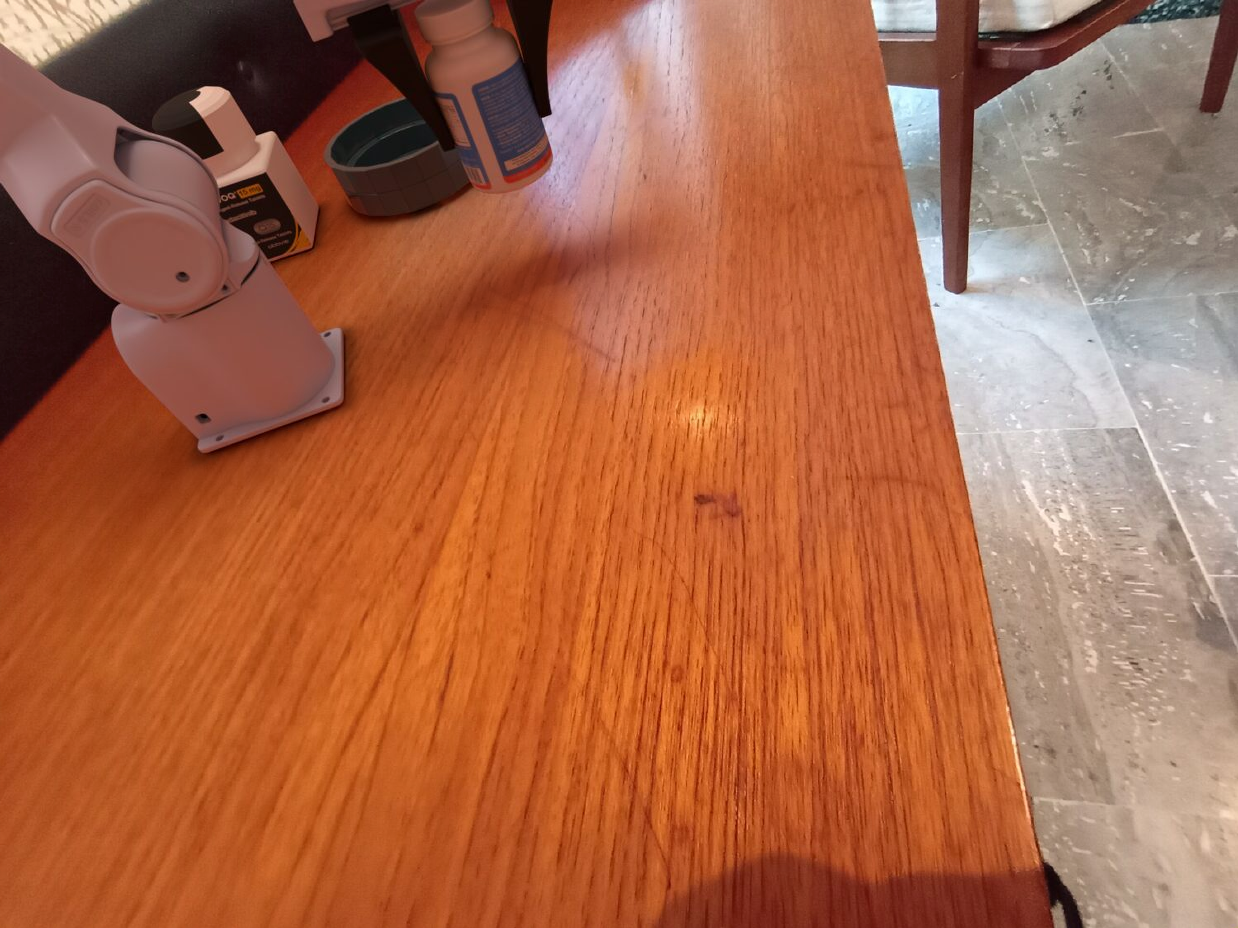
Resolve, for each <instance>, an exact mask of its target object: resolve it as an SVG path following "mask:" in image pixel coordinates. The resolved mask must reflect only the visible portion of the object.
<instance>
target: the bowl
mask: <svg viewBox="0 0 1238 928" xmlns="http://www.w3.org/2000/svg"><path fill="white" fill-rule="evenodd" d="M323 155H324V157H323V161H324V163H325V164H326V166H327V168H328V170H329V171H330V173H331V175H332V176H333V179H334V180H335V183H336V184H337V186H338V188H339V190H340V191H341V193H342V195H343V197H344V198H345V200H346V202H347V204H348V205H349V206H350V207H351V208H352V210H353V211H355V212H356V213H359V214H362V215H366V216H369V217H377V216H378V217H392V216H396V215H403V214H408V213H413V212H416V211H420V210H423V209H426V208H428V207H431V206H433V205H436V204H438V203H440V202H442V201H444V200H446V199H448V198H449V197H451V196H453V195H454V194H455V193H457V192H459V191H460V190H461V189H463V188H464V187H465V186H466V185H467V184H469V183H471V182H470V180H469V178H468V175H467V173H466V171H465V168H464V166H463V164H462V161H461V159H460V156H459V154H458V152H457V149H456V147H455V149H453V150H450V151H447V152H444V151H443V149H442V147H441V145H440V144H439V142H438V140H437V138H436V137H435V135H434V134H433V132H432V131H431V129H430V128H429V126H428V125H427V124H426V122H425V121H424V120H423V118H422V117H421V116H420V114H419V113H418V112H417V111H416V109H415V108H414V107H413V106H412V105H411V103H410V102H409V101H408V100H407V99H406V98H405V97H404V96H400V97H399V98H395V99H393V100H389V101H387V102H384V103H382V104H380V105H378V106H376V107H374V108H372V109H370V110H368V111H366V112H363V113H362V114H360V115H358V116H357V117H356V118H354V119H353V120H351V121H349V122H348V123H347V124H345V125H344V126H343V127H342V128H341V129H340V130H338V131H337V132H336V133H335V134H334V135H333V136H332V137H331V138H330V140H329V142H328V143H327V145H326V146H325V148H324V154H323Z"/></svg>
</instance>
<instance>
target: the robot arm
mask: <svg viewBox="0 0 1238 928" xmlns="http://www.w3.org/2000/svg"><path fill="white" fill-rule="evenodd" d="M292 1H293V4H294V6H295V9H296V10H297V12H298V15H299V16H300V18H301V20H302V22H303V24H304V26H305V29H306V30H307V32H308V34H309V36H310V38H311V40H312V42H314V43H315V42H318V41H321V40H324V39H327V38H329V37H331V36H333V35H334V32H335V31H338V30H341V29H343V28H346V27H349V29H350V31H351V35H352V36H353V37H352V38H353V39H354V46H355V48H356V49H357V51H358V52H359V53H360V54H361V57H363V58H364V60H366V62H367V63H369V64H370V65H371V66H372V67H374V69H375V70H377V71H378V72H379V73H380V74H381V75H383V77H385V78H386V79H387V80H388V82H390V83H391V84H392V85H393V86H394V88H396V89H397V90H398V91H399V93H401V95H402V96H403V97H405V98H406V99H407V100H408V101H409V102H410V103H411V105H412V106H413V107H414V108H415V109H416V111H417V112H418V113H419V114H420V116H421V117H422V118H423V120H424V121H425V122H426V124H427V125H428V126H429V128H430V129H431V131H432V132H433V134H434V135H435V137H436V138H437V140H438V142H439V144H440V145H441V147H442V149H443V151H444V152H447V151H450V150H453V149H455V145H454V142H453V140H452V137H451V135H450V132H449V130H448V128H447V125H446V123H445V121H444V118H443V116H442V114H441V111H440V109H439V107H438V104H437V102H436V99H435V97H434V95H433V93H432V90H431V87H430V85H429V83H428V80H427V77H426V75H425V70H424V68H423V67H422V64H421V61H420V59H419V56H418V54H417V50H416V49H415V45H414V43H413V41H412V38H411V36H410V33H409V31H408V28H407V25H406V23H405V20H404V18H403V15H402V13H401V9H400V8H404V7H407V6H408V5H411V4H415V3H417V2H420V1H421V0H292ZM505 3H506V5H507V8H508V13H509V15H510V18H511V21H512V25H513V28H514V31H515V34H516V37H517V40H518V43H519V44H518V45H519V49H520V52H521V55H522V58H523V62H524V65H525V68H526V71H527V74H528V77H529V80H530V83H531V86H532V90H533V94H534V97H535V101H536V104H537V107H538V110H539V114H540V117H541V118H542V119H544V118H547V117H549V116H552V115H553V111H552V105H551V99H550V91H549V79H548V78H549V77H548V76H549V75H548V46H549V32H550V24H551V17H552V16H551V15H552V9H553V3H554V0H505ZM0 185H2V187H3V189H4V190H5V191H6V192H7V193H8V195H9V196H10V198H11V199H12V201H13V202H14V204H15V205H16V206H17V208H18V209H19V210H20V212H21V213H22V215H23V217H24V218H25V219H26V220H27V222H28V223H29V225H31V227H32V228H33V229H34V230H35V231H36V232H37V233H38V234H39V235H40V236H42V237H44V238H45V239H47V240H49V241H51V242H52V243H54V244H55V245H57V246H58V247H60V248H61V249H63V250H65V251H66V252H67V253H68V254H69V255H71V256H72V257H73V258H74V259H75V260H76V261H77V262H78V263H79V264H80V265H81V266H82V268H83V270H84V271H85V272H86V274H87V275H88V276H89V278H90V279H91V280H92V282H93V283H94V284H95V286H97V287H98V288H99V289H100V290H101V291H102V292H103V293H104V294H105V295H107V296H108V297H110V298H111V299H113V300H115V301H116V302H118V303H119V304H118V305H117V306H115V307H114V309H113V311H112V315H111V321H110V323H111V324H110V325H111V333H112V338H113V341H114V343H115V346H116V348H117V350H118V353H119V354H120V356H121V357H122V360H123V361H124V363H125V364H126V366H127V367H128V369H129V370H130V371H131V372H132V374H133V375H134V376H135V377H136V379H138V380H139V382H140V383H142V384H143V386H145V387H146V388H147V389H148V391H150V393H151V394H152V395H154V397H156V398H157V400H159V402H160V403H161V404H163V406H165V408H167V409H168V411H169V412H170V413H171V414H173V416H175V417H176V419H177V420H179V421H180V423H181V424H182V425H183V426H184V427H185V428H187V430H188V431H190V433H191V434H192V435H193V436H194V437H195V438H197V440H198V443H197V450H199V451H200V452H201V453H202V454H207V453H211V452H212V451H213V452H214V451H216V450H219V449H222V448H224V447H227V446H230V445H233V444H235V443H238V442H241V441H244V440H247V439H251V438H252V437H256V436H257V435H261V434H264V433H266V432H270V431H271V430H275V429H278V428H280V427H283V426H286V425H288V424H291V423H294V422H297V421H300V420H302V419H304V418H308V417H311V416H313V415H317V414H319V413H322V412H325V411H328V410H330V409H333V408H336V407H338V406H341V404H342V403H343V402H344V398H345V388H344V387H345V374H344V373H345V366H344V365H345V362H344V359H345V355H344V354H345V353H344V352H345V351H344V350H345V348H344V347H345V345H344V344H345V343H344V341H345V338H344V336H345V335H344V334H345V333H344V331H343V330H342V328H341V327H334V328H331V329H329V330H328V329H327V330H325V331H322V332H319V331H318V330H317V328H316V327H315V325H314V324H313V322H312V321H311V320H310V318H309V317H308V314H306V313H305V311H304V310H303V308H302V306H301V305H300V304H299V303H298V301H297V300H296V298H295V297H294V295H293V294H292V292H291V291H290V289H289V288H288V287H287V285H286V283H285V282H284V281H283V279H282V278H281V276H280V275H279V274H278V271H276V269H275V268H274V266H273V265H272V264H271V262H269V261H268V259H267V258H266V256H265V255H264V253H263V252H262V251H261V249H260V248H259V247H258V245H257V243H256V242H255V240H254V239H253V238H252V237H251V236H250V235H248V234H247V233H245V232H243V231H241V230H239V229H237V228H235V227H234V226H232V225H231V224H230V223H228V222H227V221H225V220H223V219H222V218H221V216H220V215H219V210H220V194H219V188H218V185H217V182H216V179H215V177H214V175H213V173H212V171H211V170H210V169H209V167H208V166H207V164H206V163H205V162H204V161H203V160H202V159H201V158H200V157H199V156H198V155H197V154H196V153H194V152H193V151H192V150H191V149H189V148H188V147H186V146H184V145H183V144H181V143H179V142H177V141H175V140H172V139H170V138H167V137H164V136H160V135H157V133H152V132H149V131H147V130H144V129H142V128H139V127H137V126H136V125H134V124H133V123H130V122H129V121H127V120H126V119H124V118H123V117H122V116H120V114H118V113H116V112H115V111H114V110H112V109H111V108H110V107H108V106H107V105H105V104H102V103H100V102H97V101H95V100H92V99H89V98H87V97H84V96H82V95H78V94H77V93H73V92H71V91H68V90H66V89H64V88H62V87H60V86H59V85H57V84H56V83H55V82H54V81H52V80H51V79H49V78H48V77H47V76H45V75H44V74H43V73H42V72H41V71H39V70H38V69H36V68H35V67H34V66H32V65H31V64H29V63H28V62H27V61H25V59H23V58H21V57H20V56H19V55H17V54H16V53H15V52H13V51H12V50H11V49H9V48H8V47H7V46H5V45H4V44H3V43H1V42H0Z"/></svg>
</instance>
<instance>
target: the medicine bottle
mask: <svg viewBox="0 0 1238 928" xmlns="http://www.w3.org/2000/svg"><path fill="white" fill-rule="evenodd" d="M151 127H152V129H153V130H154V132H155V134H157V135H160V136H164V137H167V138H170V139H172V140H175V141H177V142H179V143H181V144H183V145H184V146H186V147H188V148H189V149H191V150H192V151H193V152H194V153H196V154H197V155H198V156H199V157H200V158H201V159H202V160H203V161H204V162H205V163H206V164H207V166H208V167H209V169H210V170H211V171H212V173H213V175H214V177H215V179H216V182H217V185H218V188H219V194H220V210H219V215H220V216H221V218H222V219H223V220H225V221H227V222H228V223H230V224H231V225H232V226H234V227H235V228H237V229H239V230H241V231H243V232H245V233H247V234H248V235H250V236H251V237H252V238H253V239H254V240H255V242H256V243H257V245H258V247H259V248H260V249H261V251H262V252H263V253H264V255H265V256H266V258H267V259H268V261H269V262H270V263H271V262H274V261H277V260H281V259H283V258H286V257H290V256H292V255H296V254H298V253H301V252H305V251H308V250H310V249H312V248H313V247H314V240H315V233H316V227H317V221H318V216H319V215H318V214H319V210H320V209H319V208H320V205H319V204H318V202H317V200H316V199H315V197H314V195H313V194H312V192H311V191H310V189H309V187H308V185H307V184H306V182H305V181H304V179H303V177H302V175H301V173H300V172H299V170H298V168H297V167H296V165H295V163H294V162H293V161H292V159H291V157H290V154H289V153H288V152H287V150H286V149H285V147H284V145H283V143H282V141H281V140H280V138H279V136H278V135H277V134H276V132H275V131H272V130H271V131H267V132H264V133H261V134H258V135H256V133H255V131H254V130H253V128H252V126H251V125H250V123H249V122H248V120H247V118H246V117H245V114H244V113H243V111H242V110H241V109H240V107H239V106H238V104H237V102H236V100H235V98H234V97H233V95H232V94H231V92H230V91H229V90H227V89H225V88H224V87H221V86H207V85H206V86H199V87H196V88H192V89H189V90H187V91H184V92H182V93H180V94H177V95H175V96H173V97H172V98H171V99H169V100H167V101H166V102H164V103H163V104H162V105H161V106H159V108H158V109H157V111H156V112H155V114H154V115H153V117H152V120H151Z"/></svg>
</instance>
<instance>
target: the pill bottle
mask: <svg viewBox="0 0 1238 928" xmlns="http://www.w3.org/2000/svg"><path fill="white" fill-rule="evenodd" d="M413 14H414V18H415V21H416V23H417V26H418V29H419V31H420V35H421V37H422V38H423V39H424V41H425V43H426V44H428V45H430V46H431V48H432V49H431V51H430V52H429V53H428V55H427V56H426V58H425V61H424V74H425V76H426V78H427V81H428V83H429V85H430V87H431V90H432V93H433V95H434V97H435V99H436V102H437V104H438V107H439V109H440V111H441V114H442V116H443V118H444V121H445V123H446V125H447V128H448V130H449V132H450V135H451V137H452V140H453V142H454V145H455V147H456V149H457V152H458V154H459V156H460V159H461V161H462V164H463V166H464V168H465V171H466V173H467V175H468V178H469V180H470V182H469V183H471V185H472V186H473V187H474V188H475V189H476V190H477V191H478V192H482V193H483V194H484V193H485V194H491V195H500V194H502V195H503V194H507V193H512V192H516V191H518V190H521V189H524V188H526V187H528V186H530V185H532V184H533V183H535V182H536V181H538V180H539V179H541V178H542V177H544V176H545V174H546V173H547V172H548V171H549V170H550V168H551V167H552V165H553V161H554V153H553V151H552V150H553V149H552V145H551V142H550V140H549V137H548V134H547V130H546V127H545V124H544V121H543V118H541V117H540V114H539V110H538V107H537V104H536V101H535V97H534V94H533V90H532V86H531V83H530V80H529V77H528V74H527V71H526V68H525V65H524V61H523V57H522V52H521V48H520V46H519V44H518V42H517V39H516V37H515V36H514V34H513V33H512V32H510V30H508V29H506V28H503V27H499V26H495V24H494V21H495V17H496V15H495V13H494V8H493V6H492V4H491V0H423V2H421V3H420V4H419V5H418V6H416V8H415V10H414V12H413Z"/></svg>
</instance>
